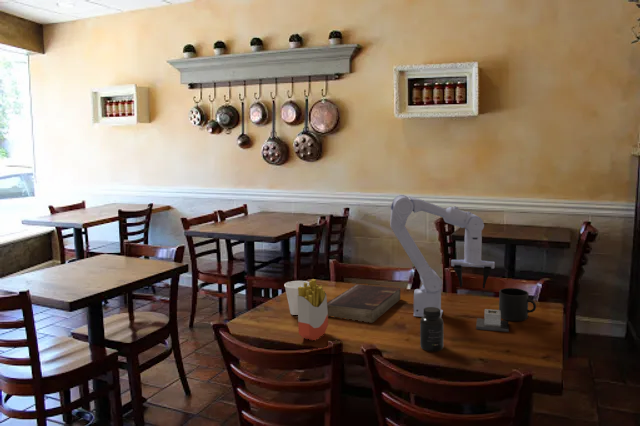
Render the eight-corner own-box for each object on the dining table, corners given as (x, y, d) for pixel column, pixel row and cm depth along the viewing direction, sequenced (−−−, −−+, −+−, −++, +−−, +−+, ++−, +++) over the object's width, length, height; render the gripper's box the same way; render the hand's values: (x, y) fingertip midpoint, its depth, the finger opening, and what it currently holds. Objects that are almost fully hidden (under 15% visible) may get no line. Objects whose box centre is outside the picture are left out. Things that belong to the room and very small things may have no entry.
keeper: (476, 329, 171) (476, 317, 170) (477, 321, 178) (477, 309, 178) (508, 332, 168) (508, 320, 167) (508, 323, 175) (508, 312, 174)
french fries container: (329, 332, 171) (327, 279, 168) (310, 344, 162) (309, 287, 159) (317, 330, 173) (316, 277, 171) (298, 341, 164) (296, 285, 162)
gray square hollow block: (484, 325, 171) (484, 313, 170) (484, 320, 176) (484, 308, 175) (500, 326, 170) (500, 314, 169) (500, 321, 174) (500, 310, 174)
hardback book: (356, 295, 213) (356, 283, 212) (400, 300, 204) (400, 288, 204) (323, 316, 188) (323, 303, 187) (372, 324, 179) (372, 310, 178)
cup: (280, 316, 188) (279, 286, 186) (292, 308, 197) (291, 279, 196) (305, 319, 184) (304, 289, 183) (316, 310, 193) (315, 281, 192)
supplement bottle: (417, 343, 160) (417, 306, 158) (439, 342, 160) (439, 304, 159) (423, 352, 153) (423, 313, 151) (446, 351, 154) (446, 312, 152)
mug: (533, 324, 174) (534, 298, 172) (496, 319, 180) (496, 293, 178) (537, 316, 182) (538, 290, 180) (502, 311, 188) (502, 286, 186)
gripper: (450, 250, 181) (450, 288, 183) (494, 252, 176) (493, 291, 178) (452, 246, 187) (451, 283, 189) (494, 248, 183) (494, 285, 185)
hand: (472, 286), depth 184 cm, fingers open, 7 cm apart
